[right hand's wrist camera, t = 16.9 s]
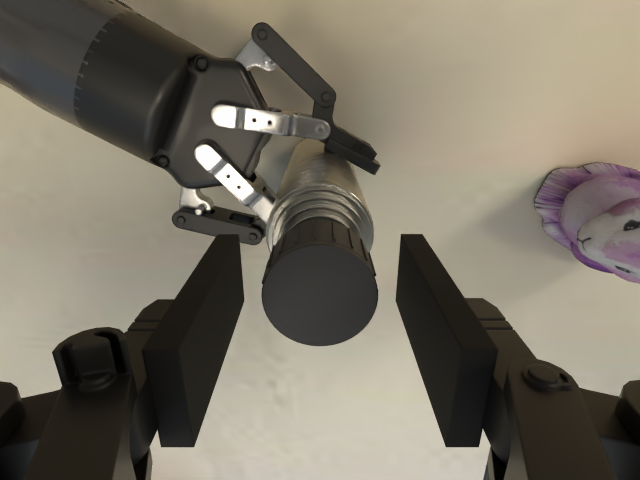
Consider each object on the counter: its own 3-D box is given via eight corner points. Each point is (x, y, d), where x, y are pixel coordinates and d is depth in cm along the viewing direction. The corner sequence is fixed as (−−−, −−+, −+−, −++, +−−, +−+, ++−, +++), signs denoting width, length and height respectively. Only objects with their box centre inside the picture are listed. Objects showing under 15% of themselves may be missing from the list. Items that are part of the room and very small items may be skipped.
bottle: (361, 164, 32) (421, 289, 13) (319, 204, 34) (318, 370, 14) (320, 121, 31) (321, 188, 12) (278, 164, 32) (217, 287, 13)
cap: (300, 325, 16) (297, 364, 14) (248, 247, 14) (236, 276, 12) (387, 285, 15) (398, 319, 13) (341, 199, 14) (345, 221, 12)
